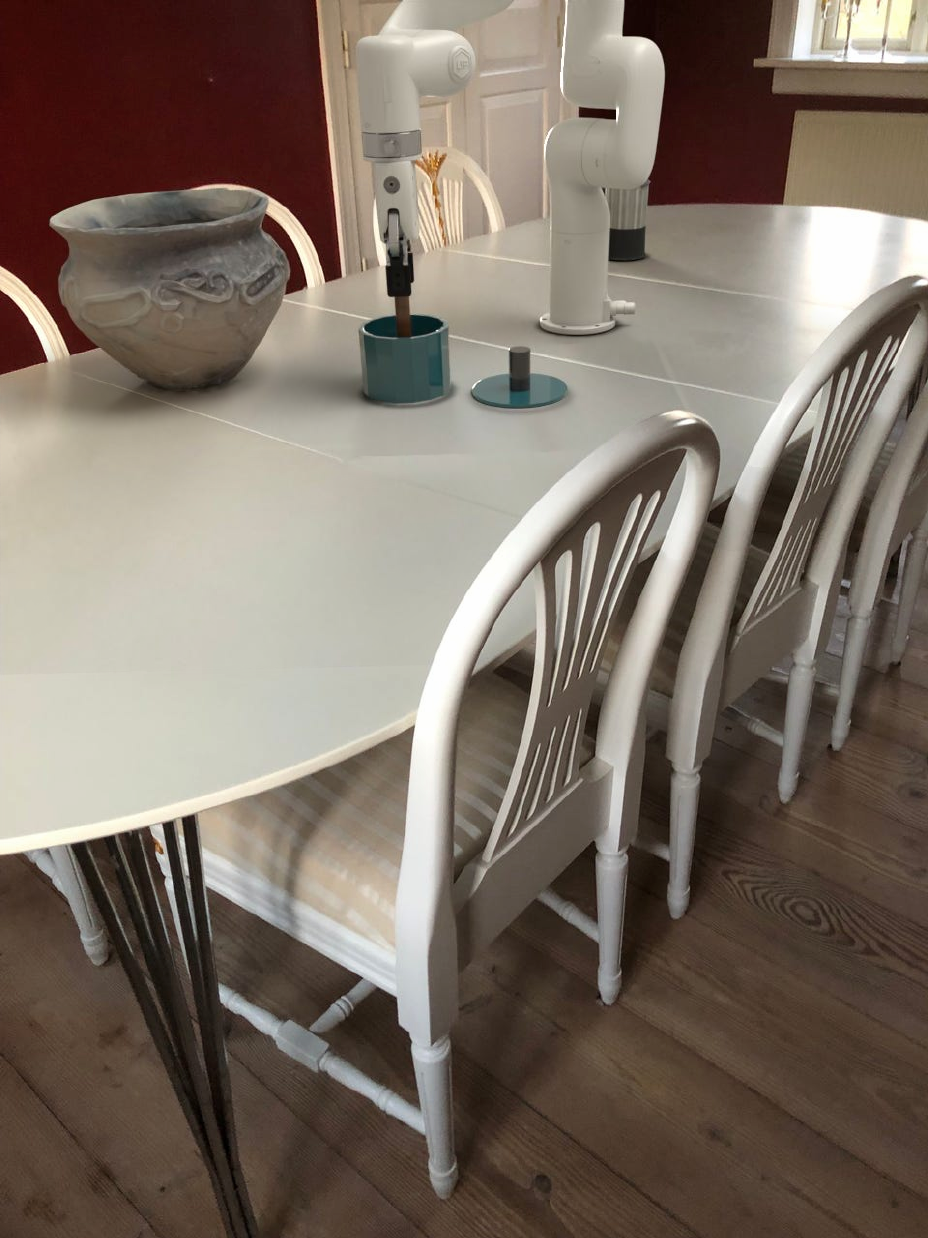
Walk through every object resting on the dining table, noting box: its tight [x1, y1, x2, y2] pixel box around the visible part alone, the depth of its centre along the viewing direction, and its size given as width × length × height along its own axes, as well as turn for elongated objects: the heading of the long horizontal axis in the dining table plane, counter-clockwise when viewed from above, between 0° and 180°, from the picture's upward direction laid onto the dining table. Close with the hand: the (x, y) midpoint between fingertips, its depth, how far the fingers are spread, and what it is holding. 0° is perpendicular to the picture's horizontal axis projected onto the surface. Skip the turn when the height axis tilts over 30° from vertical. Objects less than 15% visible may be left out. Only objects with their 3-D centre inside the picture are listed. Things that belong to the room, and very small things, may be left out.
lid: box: [471, 345, 569, 409], centre depth 144 cm, size 13×13×7 cm
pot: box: [358, 313, 452, 404], centre depth 146 cm, size 12×12×10 cm
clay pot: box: [49, 187, 291, 392], centre depth 151 cm, size 33×32×25 cm
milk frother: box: [601, 179, 651, 262], centre depth 211 cm, size 14×16×15 cm
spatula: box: [393, 296, 411, 338], centre depth 144 cm, size 2×6×18 cm, turn 0°
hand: (401, 287), depth 141 cm, fingers open, 6 cm apart
